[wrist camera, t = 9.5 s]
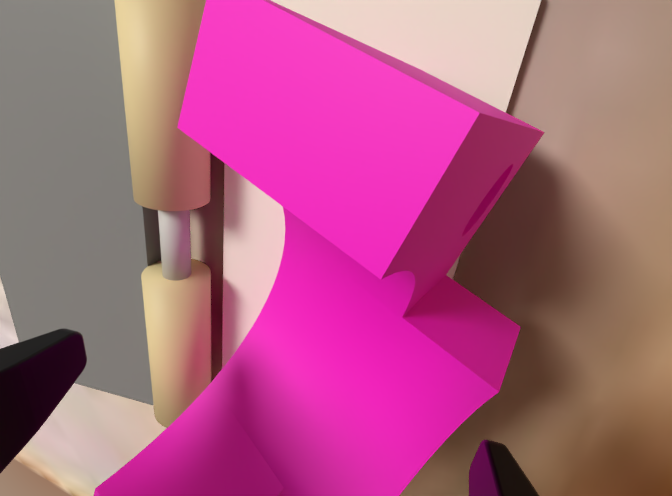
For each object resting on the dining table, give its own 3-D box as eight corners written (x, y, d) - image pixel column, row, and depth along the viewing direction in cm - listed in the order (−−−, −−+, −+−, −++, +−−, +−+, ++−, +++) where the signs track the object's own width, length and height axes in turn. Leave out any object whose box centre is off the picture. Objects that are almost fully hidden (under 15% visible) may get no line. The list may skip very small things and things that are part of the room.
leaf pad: (541, -9, 10) (544, -10, 10) (398, 445, 18) (398, 451, 17) (231, -48, 11) (227, -51, 11) (224, 397, 19) (221, 402, 18)
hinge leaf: (225, -62, 11) (176, -93, 9) (220, 400, 19) (194, 443, 17) (-63, -98, 12) (-167, -132, 10) (47, 353, 20) (2, 387, 18)
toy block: (363, 506, 16) (224, 738, 10) (257, 399, 18) (84, 534, 12) (646, 183, 9) (786, 273, 3) (420, 69, 11) (212, -26, 5)
